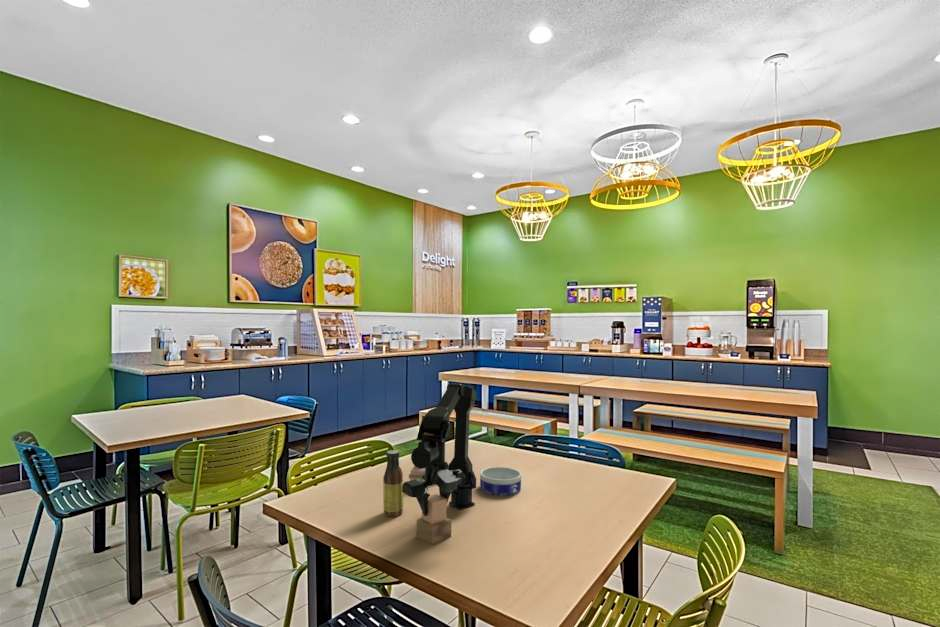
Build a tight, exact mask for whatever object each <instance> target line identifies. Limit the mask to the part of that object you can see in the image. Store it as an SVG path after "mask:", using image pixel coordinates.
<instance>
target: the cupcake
mask: <svg viewBox="0 0 940 627" xmlns="http://www.w3.org/2000/svg"><path fill="white" fill-rule="evenodd" d="M407 475H408V479H409V481H411V480H417V481H419V482H425V480H424V479H422V475H425V468H422V469H420V468H417V467H416V466H415V465H414V464H413V468H411V469H410V473H408V474H407ZM428 489H429V488H427V490H428Z"/></svg>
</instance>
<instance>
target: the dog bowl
mask: <svg viewBox="0 0 940 627" xmlns="http://www.w3.org/2000/svg"><path fill="white" fill-rule="evenodd" d="M479 473H480V474H479V479H480V480H479V481H480V482H479V484H480V491H482V492H483V493H484V492H485V494H487V493H488V495H490V494H491V495H490V496H495V495H496V496H495V497H509V496H515V495H517V494H519V493H520V492H521V489H522V472H520V470H518V469H516V468H512V467H507V466H492V467H491V466H490V467H486V468H483V469H482V470H481V471H480V472H479ZM514 494H515V495H514Z"/></svg>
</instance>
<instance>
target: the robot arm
mask: <svg viewBox="0 0 940 627" xmlns="http://www.w3.org/2000/svg"><path fill="white" fill-rule="evenodd" d="M476 400H477V391H476V389H474V387H472V386H466V385H464V384H462V383H453V382H452V383H451V382H449V383H448V384H447V386H446V390H445V391H444V393H443V395H442V396H441V398H440V400H439V402H438V403H437V405H436V407H435V408H431V409H430V410H428V411H427V412H426V413H425V415H424V416H423V417H422V418H421V420H420V425H419V429H418V432H417V437H416V441H419V442H417V447H415V448H414V449H413V450H412V453H411V454H410V458H411V463H412V464H413V466H414V465H415V466H416V467H417V468H420V469H422V468H425V475H422V479H424V480H425V482H419V481H417V480H411V481H410V480H407V481H403V485H402V492H403V494H406V495H407V496H409V497H410V498H416V500H417V502H418V504H419V505H418V506H419V507H420V509H421V513H422V512H423V514H424V516H427V512H428V497H429V496H431V494H430V493H428V489H429V488H432V487H436V486H437V487H438V491H439V493H438V494H439V495H440V496H442V497H444V498H446V499H447V503H448V504H449V505H451V506H453V507H455V508H458V510H464V509H466V508H469V507H473V506H475V505H476V503H475V502H473V489H476V488H477V477H476V474H475V472H474V470H473V463H472V461H471V459H470V457H469V438H470V437H469V436H470V435H469V434H470V414H471V411H472V410H473V408H474V407H475V405H476V404H475V403H476ZM453 411H454V412H455V420H454V422H455V423H454V424H455V425H454V426H455V427H454V449H453V453H454V454H453V458H452V460H451V461H450V463H448V462H447V461H446V440H447V437H448V435H449V433H450V432H449V431H450V428H451V423H450V422H451V421H450V416H451V415H452V412H453ZM427 488H428V489H427ZM450 498H451V499H450ZM449 499H450V501H449ZM448 501H449V502H448Z"/></svg>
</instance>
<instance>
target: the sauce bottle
mask: <svg viewBox="0 0 940 627" xmlns="http://www.w3.org/2000/svg"><path fill="white" fill-rule="evenodd" d="M399 458H400V451H399V450H396V449H393V450H392V449H391V450H387V451H386V461H387V462H386V468H385V471H384V475H383V477H382V478H383V489H382V490H383V493H382V494H383V513H384V515H385V516H387V517H398V516H401V515H402V513H403V512H404V493H403V492H402V485H403V484H404V478H403V471H402V468H401V467H400V459H399Z"/></svg>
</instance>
